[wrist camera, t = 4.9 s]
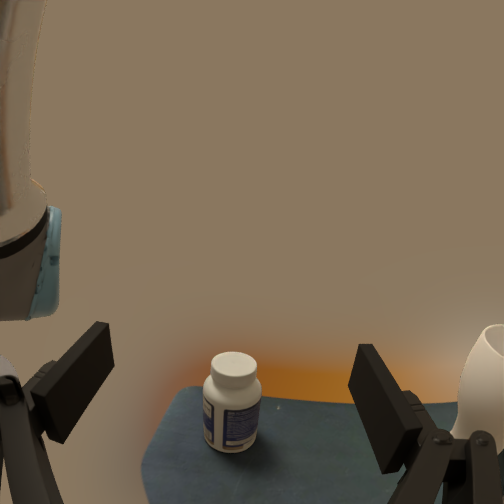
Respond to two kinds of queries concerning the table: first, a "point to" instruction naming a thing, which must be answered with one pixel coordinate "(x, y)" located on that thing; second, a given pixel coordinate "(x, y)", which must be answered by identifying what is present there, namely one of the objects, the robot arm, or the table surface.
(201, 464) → the table surface
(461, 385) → the cup
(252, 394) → the pill bottle
